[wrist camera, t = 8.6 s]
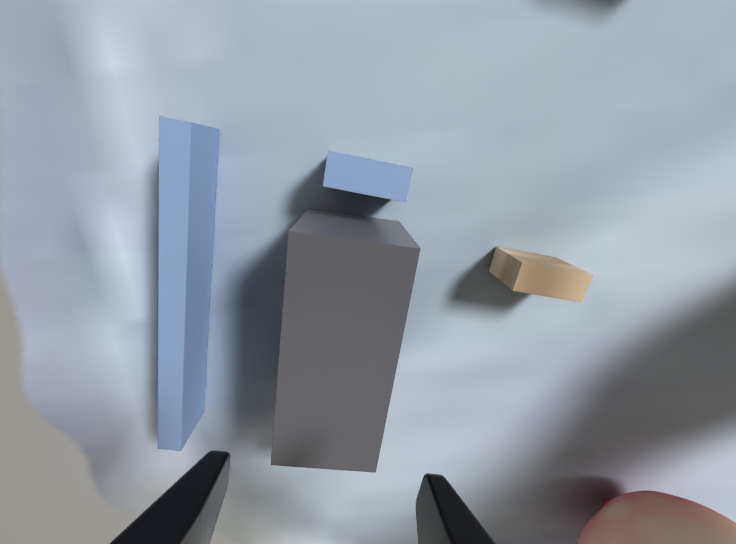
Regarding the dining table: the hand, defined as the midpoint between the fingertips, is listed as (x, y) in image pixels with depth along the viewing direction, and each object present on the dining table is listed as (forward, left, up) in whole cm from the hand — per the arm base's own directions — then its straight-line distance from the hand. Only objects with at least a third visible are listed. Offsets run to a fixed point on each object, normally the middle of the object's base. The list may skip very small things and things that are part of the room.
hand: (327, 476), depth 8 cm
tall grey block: (0, 0, -9) cm, 9 cm away
